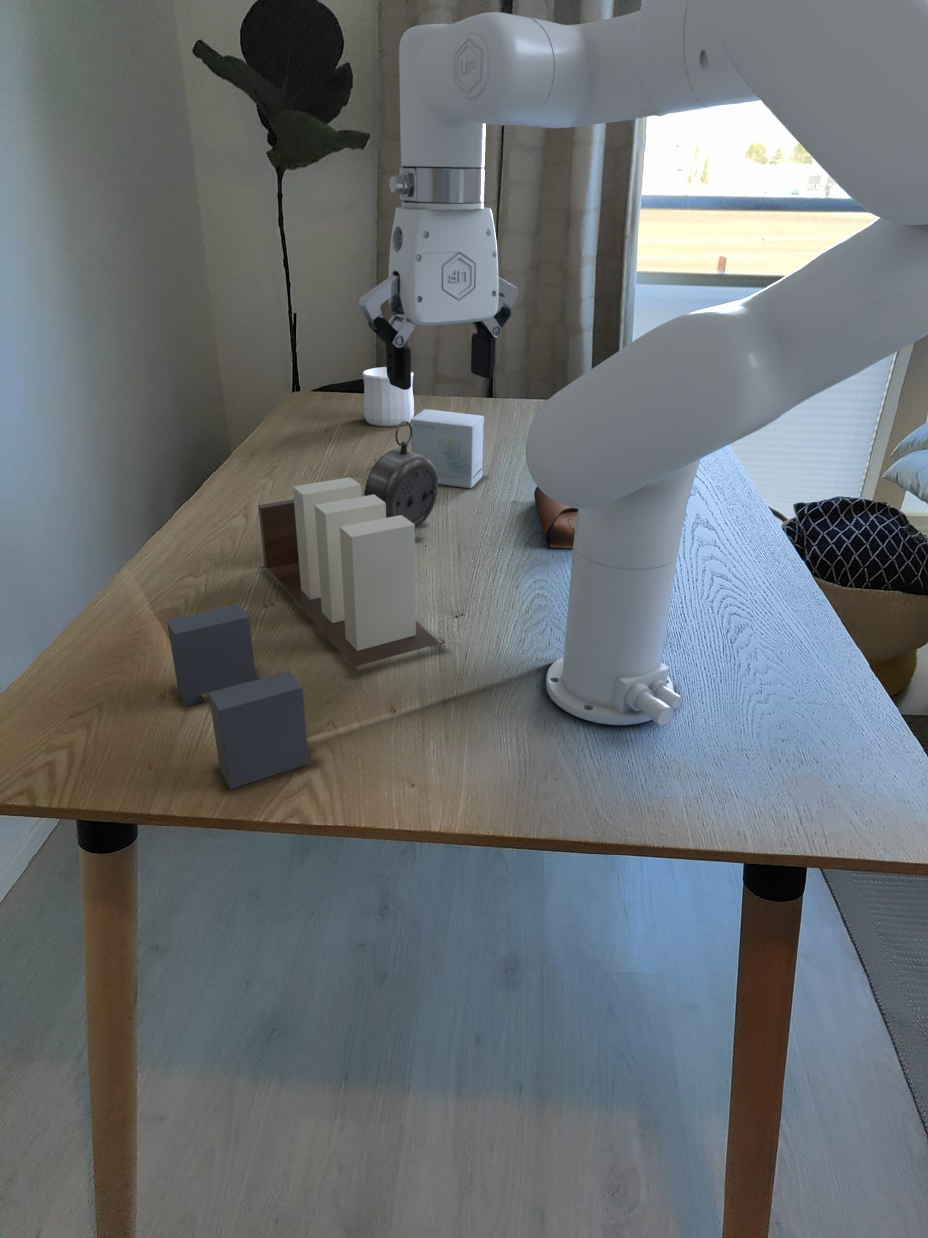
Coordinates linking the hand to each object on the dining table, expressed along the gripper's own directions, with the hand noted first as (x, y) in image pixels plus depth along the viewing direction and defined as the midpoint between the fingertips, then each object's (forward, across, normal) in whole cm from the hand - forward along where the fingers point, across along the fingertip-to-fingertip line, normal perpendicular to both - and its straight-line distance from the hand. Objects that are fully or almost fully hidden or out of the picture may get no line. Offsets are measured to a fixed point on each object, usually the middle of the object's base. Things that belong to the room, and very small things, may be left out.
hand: (442, 381), depth 86 cm
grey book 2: (+27, -27, -15) cm, 41 cm away
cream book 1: (+26, -8, +12) cm, 30 cm away
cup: (+27, +35, +76) cm, 88 cm away
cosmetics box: (+27, +26, +40) cm, 55 cm away
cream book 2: (+26, -8, +5) cm, 28 cm away
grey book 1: (+27, -27, -1) cm, 38 cm away
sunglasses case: (+27, +31, +15) cm, 44 cm away
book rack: (+27, -8, +8) cm, 29 cm away
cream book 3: (+26, -9, -2) cm, 28 cm away
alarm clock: (+27, +8, +23) cm, 37 cm away
